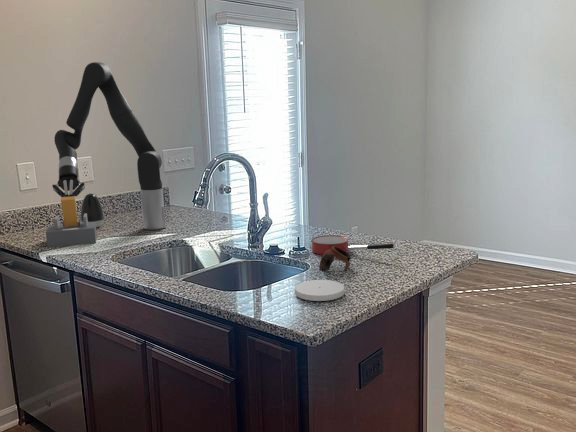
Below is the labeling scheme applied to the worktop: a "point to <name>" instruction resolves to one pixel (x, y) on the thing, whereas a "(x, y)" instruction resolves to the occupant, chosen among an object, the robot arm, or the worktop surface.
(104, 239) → the worktop surface
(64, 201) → the lever
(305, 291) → the plastic lid
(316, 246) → the frying pan
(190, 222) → the worktop surface
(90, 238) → the switch box
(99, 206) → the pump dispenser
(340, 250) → the brown arched piece
